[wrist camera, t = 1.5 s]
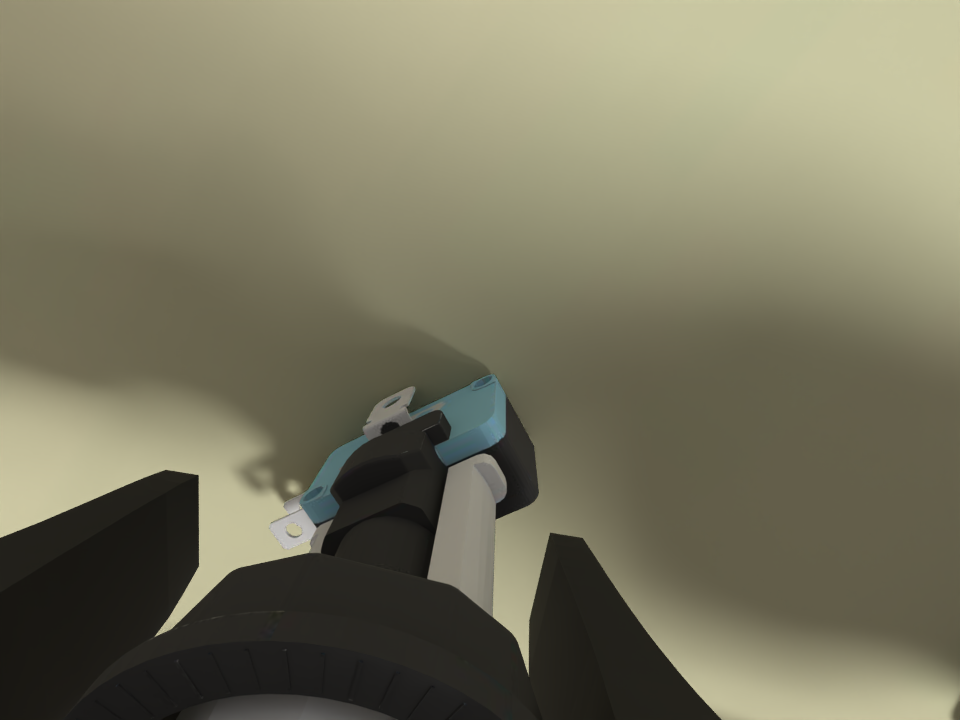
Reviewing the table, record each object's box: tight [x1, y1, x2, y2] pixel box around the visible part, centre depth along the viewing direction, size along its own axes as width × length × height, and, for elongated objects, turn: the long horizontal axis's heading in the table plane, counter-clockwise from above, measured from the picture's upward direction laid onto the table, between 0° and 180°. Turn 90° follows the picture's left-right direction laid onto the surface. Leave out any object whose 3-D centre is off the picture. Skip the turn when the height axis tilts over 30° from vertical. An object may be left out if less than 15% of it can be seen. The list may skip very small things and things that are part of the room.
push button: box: [64, 374, 543, 720], centre depth 9 cm, size 7×5×10 cm
